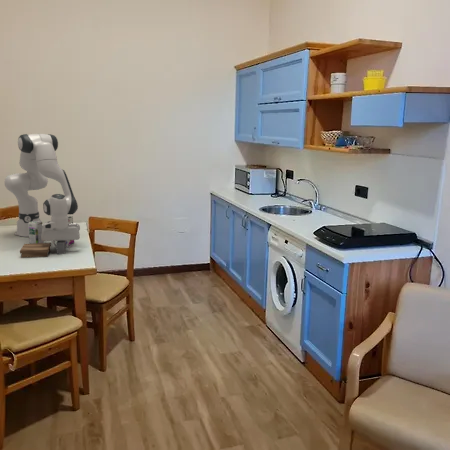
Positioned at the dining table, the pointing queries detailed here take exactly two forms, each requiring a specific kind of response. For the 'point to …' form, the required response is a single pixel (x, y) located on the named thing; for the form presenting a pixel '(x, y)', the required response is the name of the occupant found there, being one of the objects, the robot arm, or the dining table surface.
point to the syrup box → (35, 232)
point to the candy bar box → (70, 220)
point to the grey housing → (61, 247)
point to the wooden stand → (35, 250)
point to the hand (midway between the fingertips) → (61, 247)
